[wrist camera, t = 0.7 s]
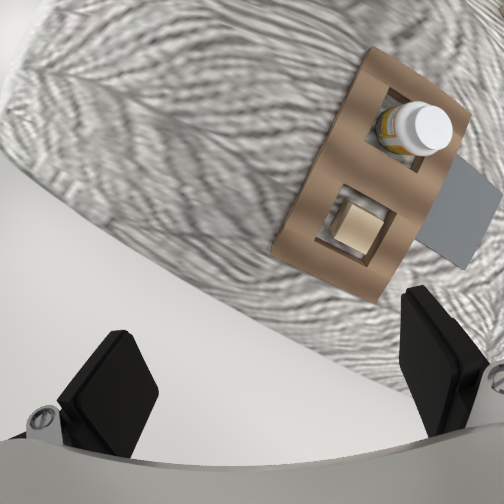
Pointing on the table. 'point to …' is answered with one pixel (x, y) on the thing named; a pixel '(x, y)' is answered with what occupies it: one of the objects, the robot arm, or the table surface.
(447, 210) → the rubber mat
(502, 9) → the box
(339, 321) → the table surface
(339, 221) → the maple block
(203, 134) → the table surface
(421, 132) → the supplement bottle
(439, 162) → the puzzle board
